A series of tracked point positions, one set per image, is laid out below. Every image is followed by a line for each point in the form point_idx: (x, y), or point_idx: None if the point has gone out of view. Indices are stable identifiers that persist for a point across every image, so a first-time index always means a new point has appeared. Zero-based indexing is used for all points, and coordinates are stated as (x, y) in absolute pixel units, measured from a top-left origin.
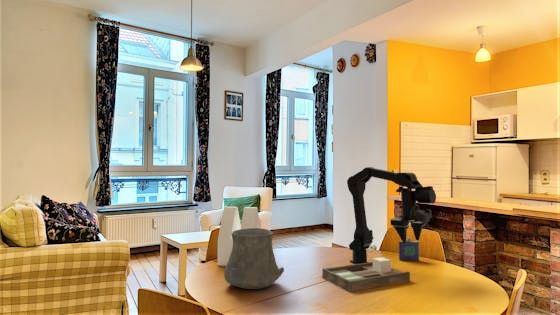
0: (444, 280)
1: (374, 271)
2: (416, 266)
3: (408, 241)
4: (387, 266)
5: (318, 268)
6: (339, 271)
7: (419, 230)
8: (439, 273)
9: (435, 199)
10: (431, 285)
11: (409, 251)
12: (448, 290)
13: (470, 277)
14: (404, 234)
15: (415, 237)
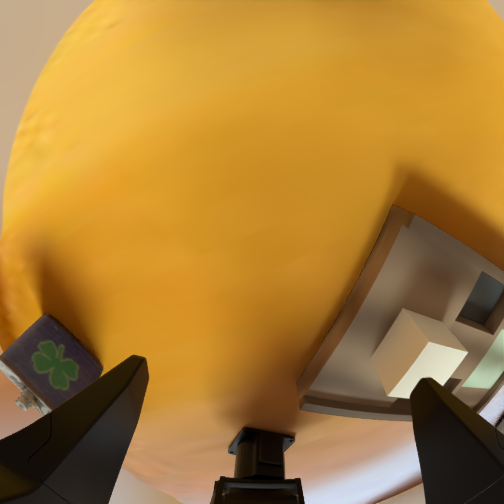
0: (246, 75)
1: None
2: (114, 291)
3: (34, 398)
4: (429, 328)
5: (392, 453)
6: (464, 399)
7: (71, 457)
8: (136, 151)
9: None
10: (379, 99)
11: (57, 365)
12: (386, 29)
13: (107, 34)
14: (501, 437)
15: (141, 407)
